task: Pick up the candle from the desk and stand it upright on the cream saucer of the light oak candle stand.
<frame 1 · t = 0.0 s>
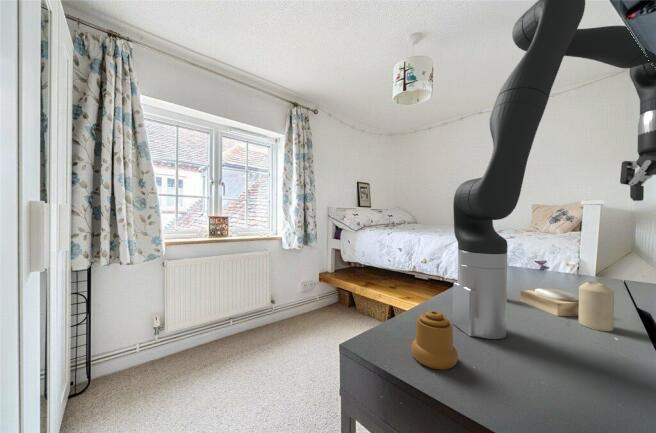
candle: (595, 327, 58), on the table
ornamental finial: (433, 359, 44), on the table
candle stand: (555, 307, 70), on the table
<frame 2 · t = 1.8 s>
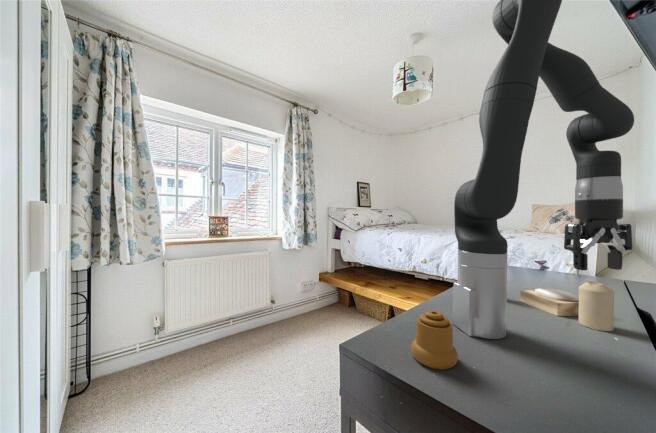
hand: (597, 269, 58), 13 cm above the table, tool pointing down, fingers open, 8 cm apart
nothing on the table moved.
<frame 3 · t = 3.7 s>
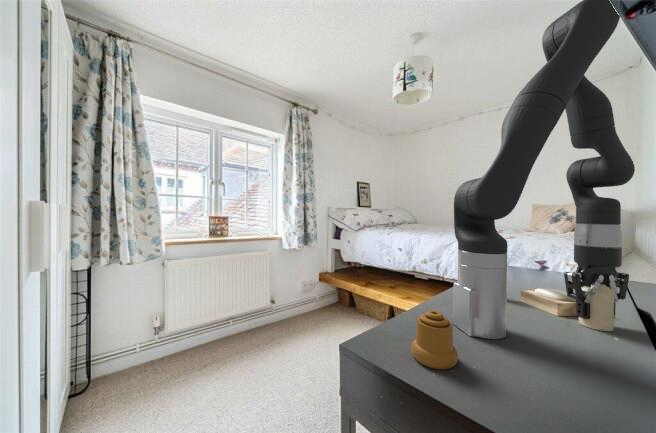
hand: (595, 317, 58), 2 cm above the table, tool pointing down, fingers closed on candle, 5 cm apart
candle: (595, 327, 58), on the table, touching gripper
everything else where it was.
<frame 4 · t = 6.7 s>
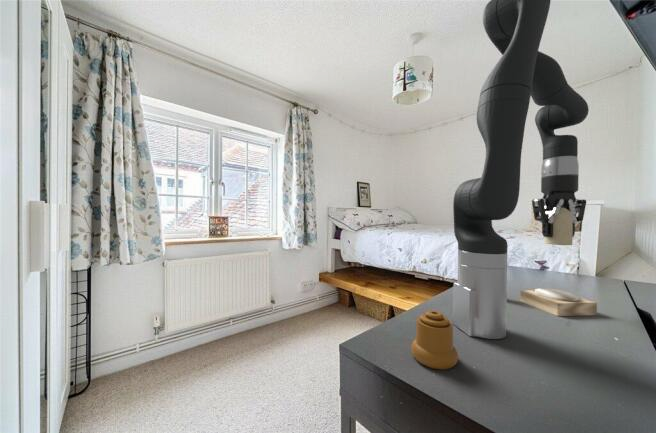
hand: (558, 236, 69), 20 cm above the table, tool pointing down, fingers closed on candle, 5 cm apart
candle: (558, 245, 69), point 17 cm above the table, touching gripper
everything else where it was.
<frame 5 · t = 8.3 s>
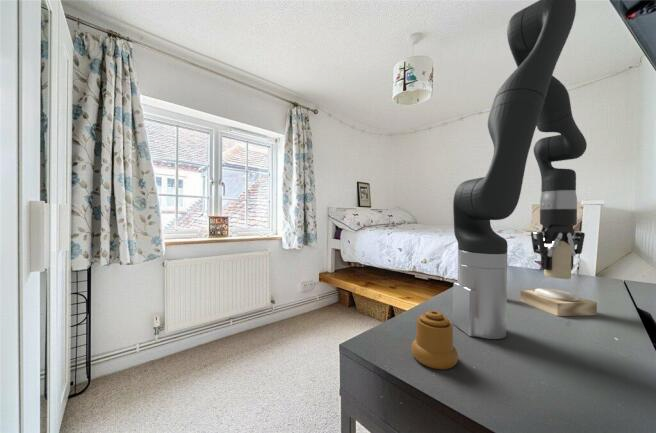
hand: (557, 269, 69), 11 cm above the table, tool pointing down, fingers closed on candle, 5 cm apart
candle: (557, 277, 69), point 8 cm above the table, touching gripper
everything else where it was.
when the fingers open (7 cm above the table, at t = 9.9 s): candle drops 1 cm, resting on candle stand.
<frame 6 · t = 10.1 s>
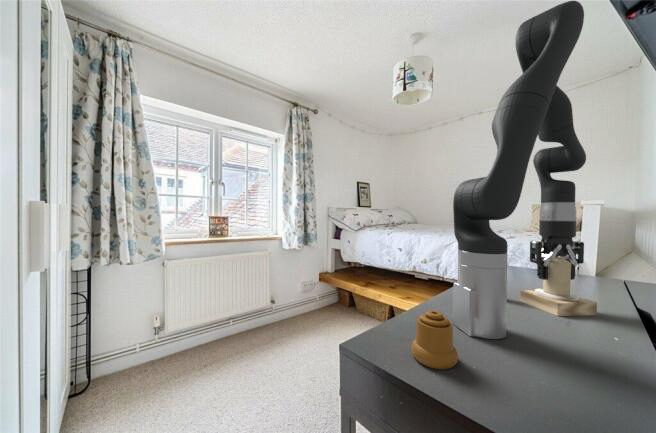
hand: (556, 279, 70), 8 cm above the table, tool pointing down, fingers open, 7 cm apart
candle: (556, 293, 70), point 4 cm above the table, touching candle stand
everything else where it was.
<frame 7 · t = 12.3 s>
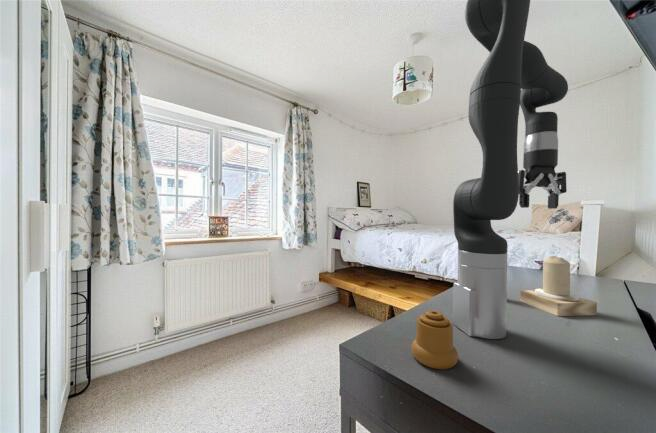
hand: (538, 208, 72), 27 cm above the table, tool pointing down, fingers open, 8 cm apart
nothing on the table moved.
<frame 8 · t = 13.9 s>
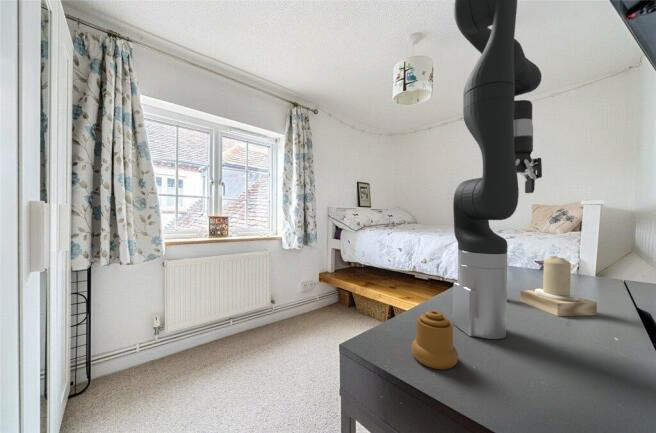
hand: (516, 192, 75), 32 cm above the table, tool pointing down, fingers open, 8 cm apart
nothing on the table moved.
at the end: candle 0.1 cm off-centre on the candle stand, point 3.8 cm above the candle stand's base; candle tilted 1°; the gripper is holding nothing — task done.
